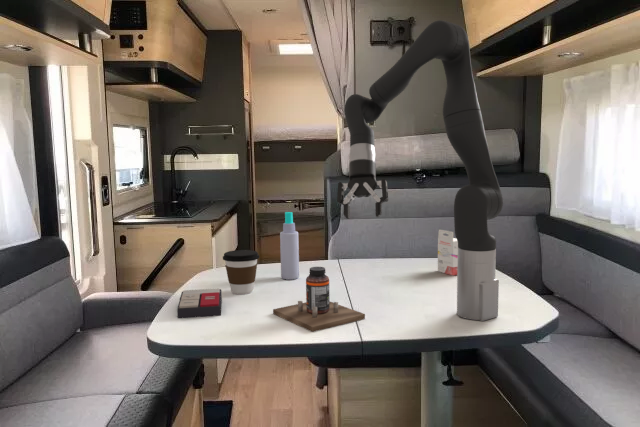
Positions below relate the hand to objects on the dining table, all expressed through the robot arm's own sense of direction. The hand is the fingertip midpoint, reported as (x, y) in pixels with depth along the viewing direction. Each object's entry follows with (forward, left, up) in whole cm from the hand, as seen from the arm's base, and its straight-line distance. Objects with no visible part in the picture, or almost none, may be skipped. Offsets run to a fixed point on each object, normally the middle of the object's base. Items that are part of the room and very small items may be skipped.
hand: (362, 217), depth 152 cm
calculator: (+20, +40, -24) cm, 51 cm away
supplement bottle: (-5, +19, -22) cm, 30 cm away
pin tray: (-5, +19, -23) cm, 31 cm away
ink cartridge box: (+7, -45, -24) cm, 51 cm away
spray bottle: (+35, +2, -24) cm, 42 cm away
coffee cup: (+29, +23, -24) cm, 44 cm away
